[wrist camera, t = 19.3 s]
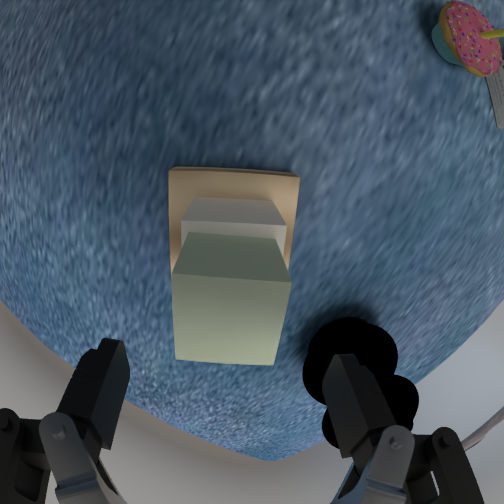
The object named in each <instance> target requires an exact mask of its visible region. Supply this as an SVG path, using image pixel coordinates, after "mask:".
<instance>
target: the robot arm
mask: <svg viewBox="0 0 504 504" xmlns="http://www.w3.org/2000/svg"><path fill="white" fill-rule="evenodd" d="M129 379H130V367H129V363H128V359H127V354H126V350H125V346H124V342H123V341H121V340H115V339H109V338H103V339H102V340H101V342H100V344H99V347H98V349H97V350H95V349H90V350H88V351H87V352H86V353H85V354H84V355H83V356H82V357H81V359H80V361H79V363H78V365H77V367H76V369H75V371H74V373H73V375H72V378H71V379H70V382H69V384H68V386H67V388H66V390H65V393H64V395H63V397H62V400H61V402H60V404H59V407H58V409H57V410H56V412H53V413H50V414H48V415H46V416H45V417H44V418H43V419H41V420H36V419H22V418H19V417H18V416H17V414H16V413H15V412H14V411H13V410H11V409H8V408H2V409H0V504H45V499H46V493H47V487H48V482H49V477H50V472H51V470H52V472H53V475H54V478H55V480H56V482H57V487H56V488H55V494H56V497H57V499H58V502H59V504H127V503H126V501H125V500H124V499H123V498H122V496H121V495H120V493H119V491H118V490H117V488H116V486H115V485H114V483H113V481H112V479H111V478H110V476H109V474H108V472H107V470H106V469H105V467H104V465H103V463H102V461H101V459H100V457H99V455H100V451H101V448H104V449H108V450H110V449H111V446H112V441H113V438H114V434H115V429H116V426H117V422H118V418H119V414H120V411H121V407H122V404H123V400H124V397H125V393H126V390H127V387H128V383H129ZM322 391H323V395H324V398H325V402H326V405H327V408H328V412H329V415H330V418H331V422H332V425H333V428H334V432H335V435H336V439H337V442H338V446H339V449H340V452H341V456H342V458H347V457H352V458H353V461H354V462H353V463H352V464H351V466H350V468H349V470H348V473H347V474H346V476H345V478H344V480H343V482H342V484H341V486H340V488H339V490H338V492H337V494H336V495H335V497H334V499H333V501H332V502H331V503H330V504H484V501H483V498H482V495H481V492H480V489H479V486H478V484H477V481H476V478H475V476H474V473H473V471H472V468H471V466H470V463H469V461H468V458H467V456H466V454H465V451H464V449H463V447H462V444H461V442H460V440H459V438H458V436H457V434H456V433H455V432H454V431H453V430H452V429H450V428H448V427H440V428H438V429H437V430H436V431H435V432H434V433H433V434H432V435H414V434H412V433H411V432H410V431H409V430H408V429H407V428H405V427H403V426H399V425H397V423H396V421H395V419H394V417H393V415H392V412H391V410H390V408H389V406H388V404H387V401H386V399H385V397H384V395H383V394H382V391H381V389H380V387H379V386H378V382H377V380H376V378H375V376H374V374H373V373H372V372H371V371H370V370H369V369H368V368H367V367H366V366H365V365H362V366H360V364H359V362H358V360H357V357H356V356H355V355H354V354H336V355H334V356H333V358H332V361H331V363H330V365H329V367H328V370H327V372H326V374H325V376H324V378H323V382H322ZM431 471H433V474H434V476H435V479H436V482H437V485H438V488H439V496H438V494H437V491H436V488H435V484H434V482H433V478H432V475H431V473H430V472H431Z"/></svg>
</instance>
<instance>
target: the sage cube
mask: <svg viewBox="0 0 504 504" xmlns="http://www.w3.org/2000/svg"><path fill="white" fill-rule="evenodd" d="M291 286H292V281H291V278H290V275H289V272H288V270H287V267H286V265H285V262H284V259H283V257H282V254H281V251H280V249H279V246H278V244H277V241H276V239H270V238H258V237H247V236H235V235H223V234H211V233H198V232H189V233H188V235H187V237H186V240H185V242H184V244H183V247H182V249H181V251H180V254H179V256H178V259H177V261H176V263H175V266H174V268H173V271H172V306H173V326H174V341H175V354H176V359H180V360H189V361H200V362H212V363H227V364H248V365H274V361H275V357H276V352H277V348H278V344H279V340H280V336H281V331H282V327H283V323H284V318H285V314H286V309H287V305H288V300H289V295H290V291H291Z"/></svg>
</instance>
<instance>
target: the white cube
mask: <svg viewBox="0 0 504 504" xmlns="http://www.w3.org/2000/svg"><path fill="white" fill-rule="evenodd" d="M286 229H287V225H286V223H285V221H284V220H283V218H282V216H281V214H280V212H279V211H278V209H277V207H276V205H275V204H274V202H273V201H266V200H250V199H232V198H210V197H195V198H194V199H193V201H192V203H191V204H190V206H189V208H188V209H187V211H186V213H185V215H184V216H183V218H182V220H181V249H182V247H183V244H184V242H185V240H186V237H187V235H188V233H189V232H198V233H211V234H223V235H235V236H247V237H258V238H270V239H276V241H277V244H278V246H279V249H280V251H281V254H282V257H283V252H284V244H285V237H286Z"/></svg>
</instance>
